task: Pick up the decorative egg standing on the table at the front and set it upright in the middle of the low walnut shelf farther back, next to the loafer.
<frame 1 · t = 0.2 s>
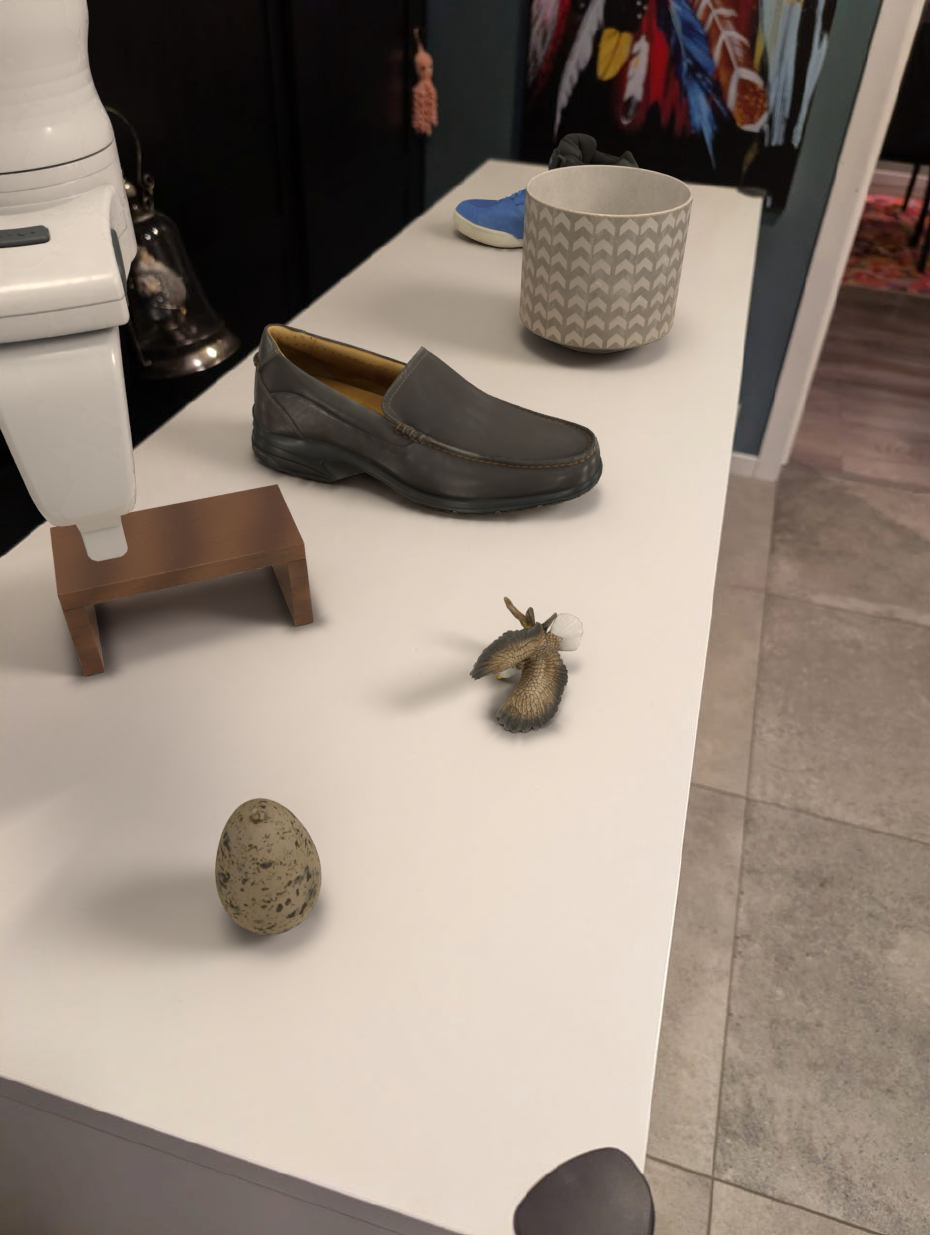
hand: (98, 499, 49), 24 cm above the table, tool pointing down, fingers open, 8 cm apart
shelf: (193, 614, 79), on the table
sneaker: (543, 245, 147), on the table
eagle figurine: (523, 688, 73), on the table
planter: (593, 341, 121), on the table
decorative egg: (277, 914, 58), on the table
loafer: (420, 473, 97), on the table
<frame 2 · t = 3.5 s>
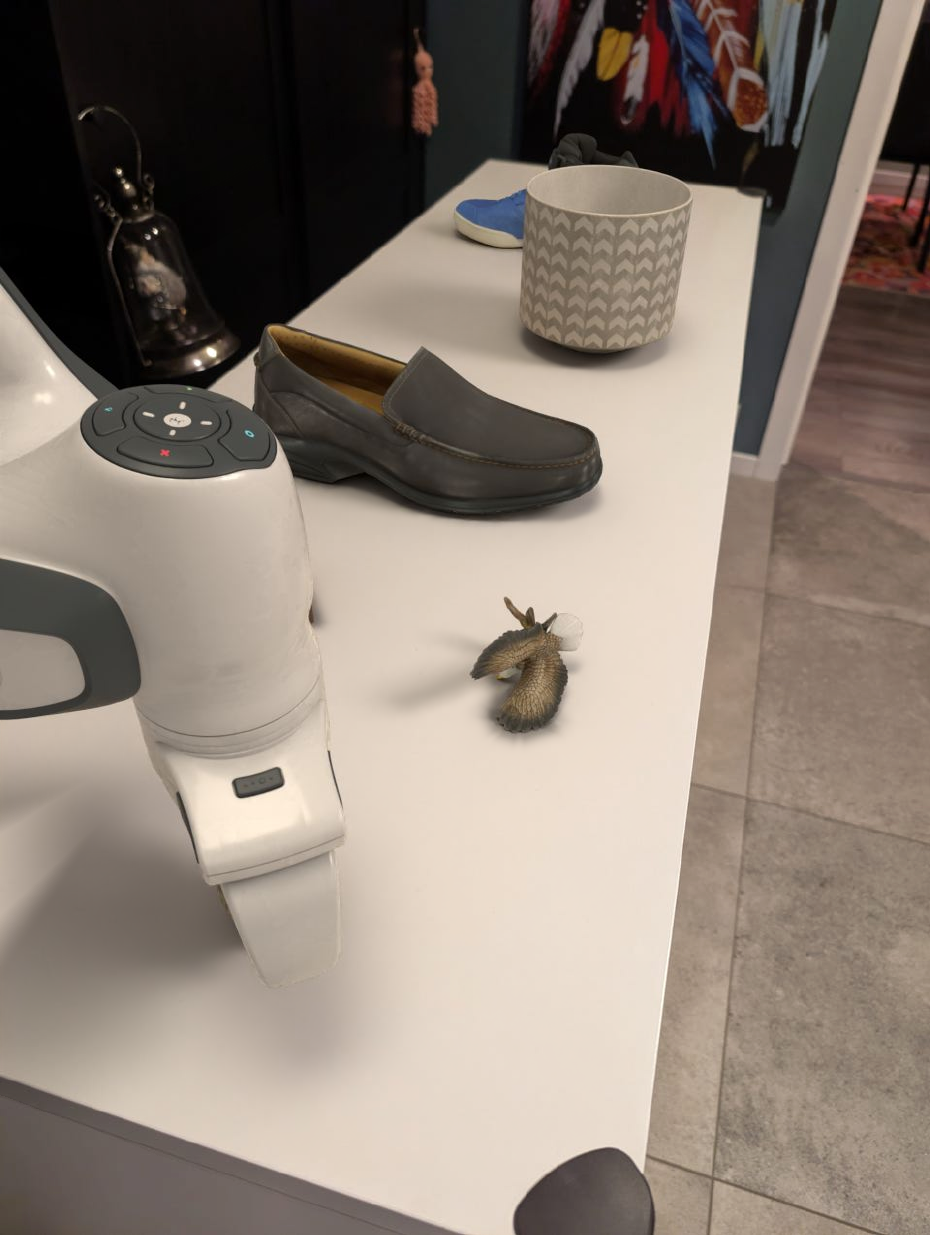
hand: (269, 878, 56), 4 cm above the table, tool pointing down, fingers closed on decorative egg, 6 cm apart
decorative egg: (277, 914, 58), on the table, touching gripper
everything else where it was.
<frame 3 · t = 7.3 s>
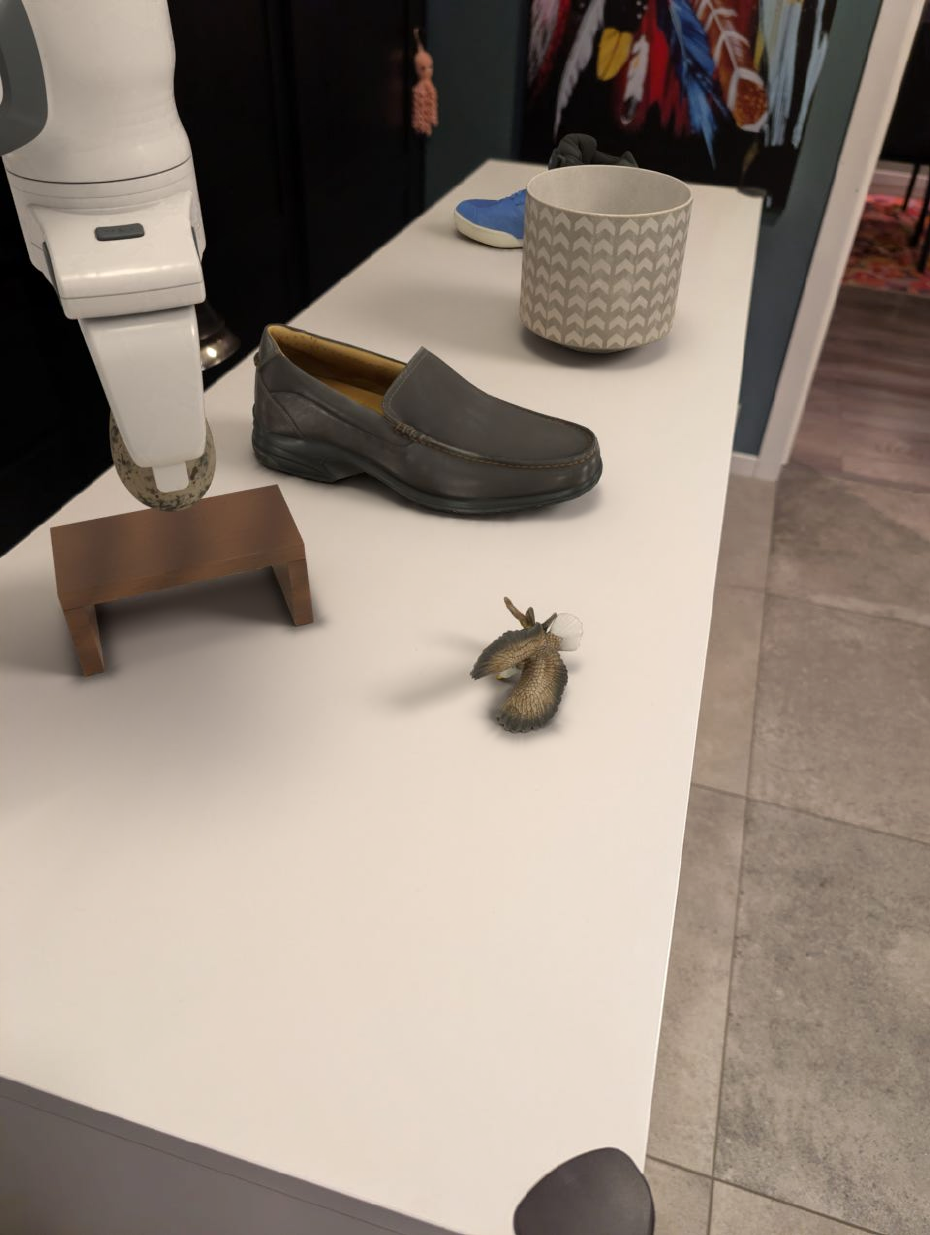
hand: (164, 454, 58), 21 cm above the table, tool pointing down, fingers closed on decorative egg, 6 cm apart
decorative egg: (176, 507, 60), point 17 cm above the table, touching gripper
everything else where it was.
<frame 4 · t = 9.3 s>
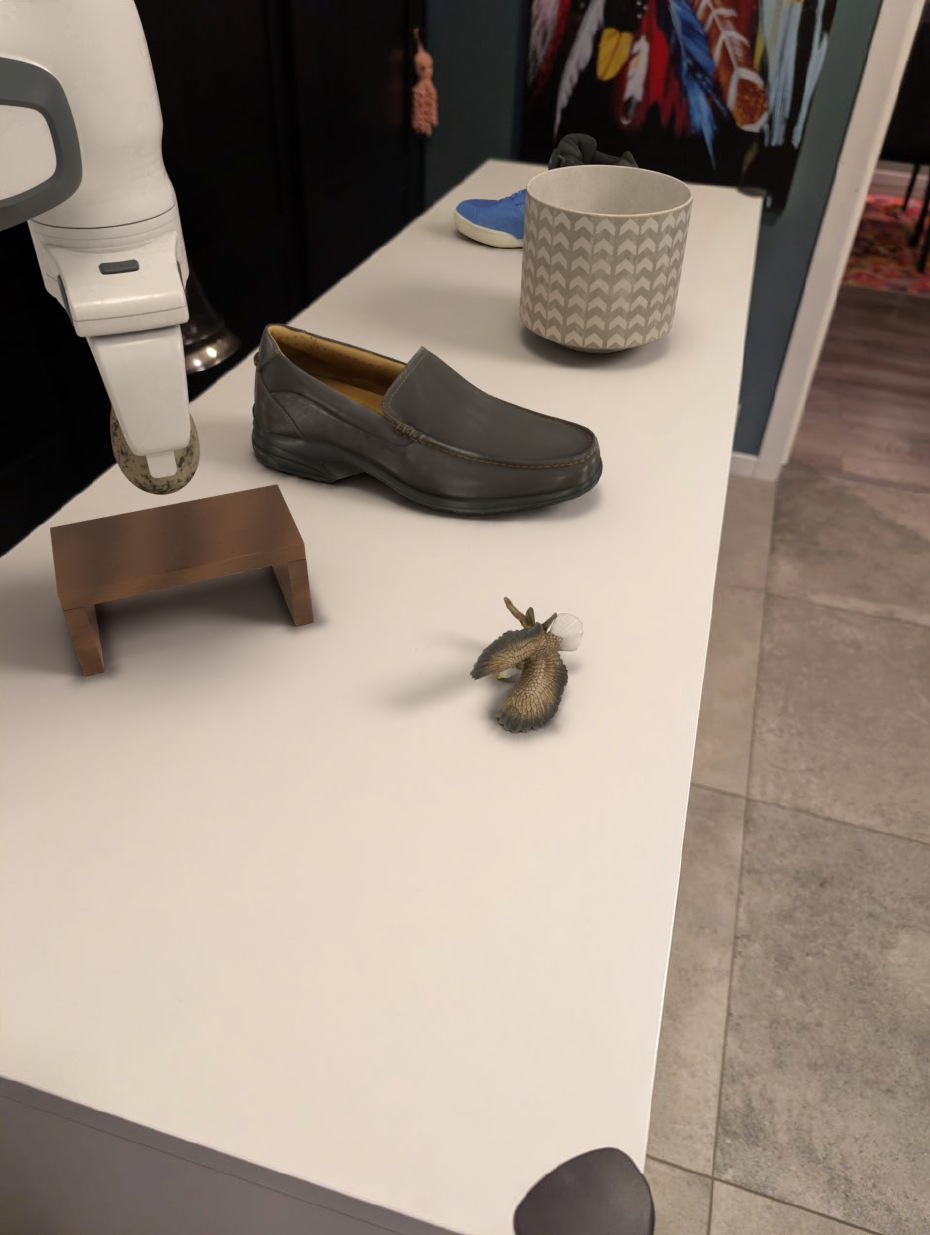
hand: (156, 447, 69), 16 cm above the table, tool pointing down, fingers closed on decorative egg, 6 cm apart
decorative egg: (166, 491, 72), point 12 cm above the table, touching gripper
everything else where it was.
when the fingers open (12 cm above the table, at t = 10.9 s): decorative egg stays where it is, resting on shelf.
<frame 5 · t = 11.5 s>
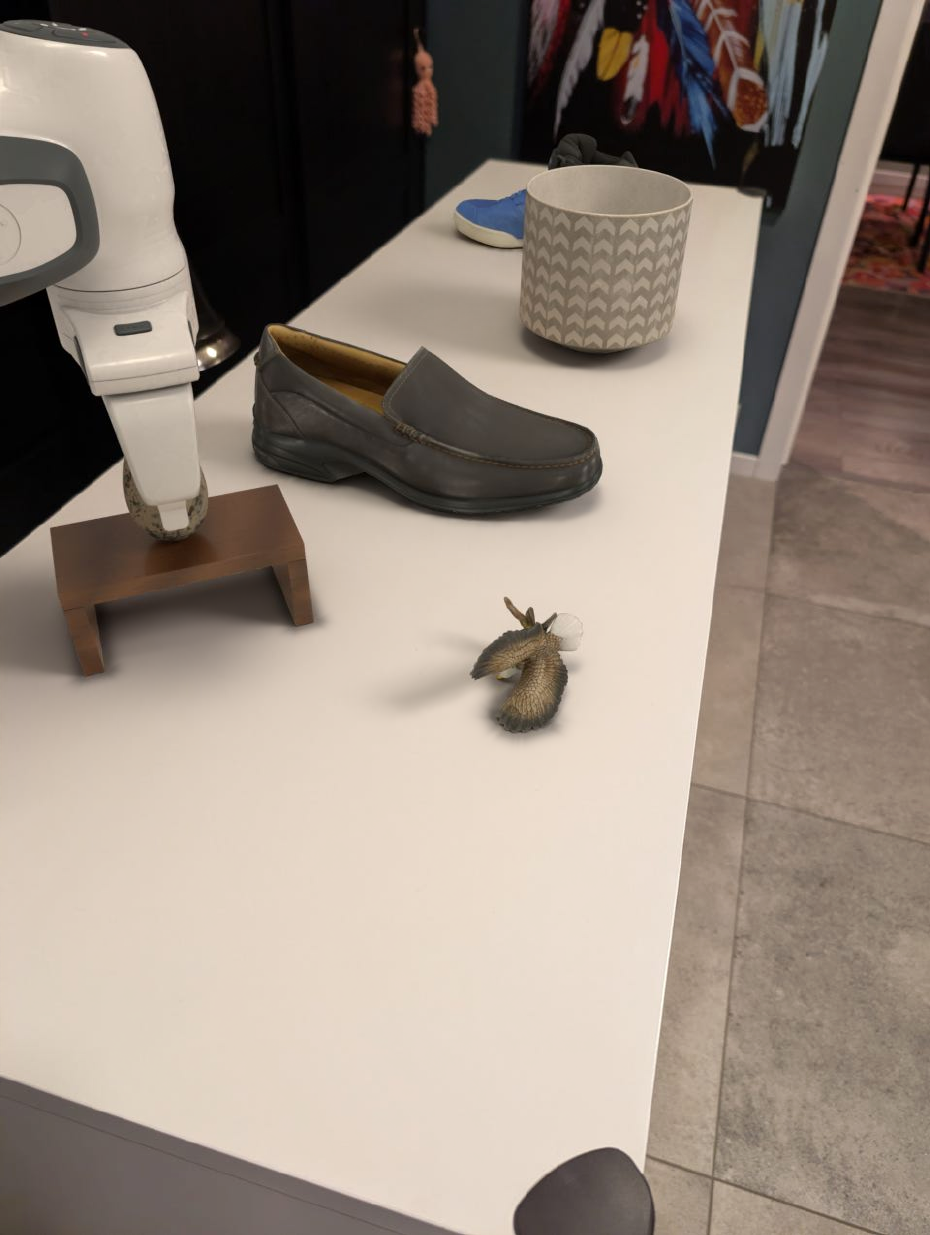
hand: (165, 490, 71), 12 cm above the table, tool pointing down, fingers open, 8 cm apart
decorative egg: (176, 537, 74), point 8 cm above the table, touching shelf
everything else where it was.
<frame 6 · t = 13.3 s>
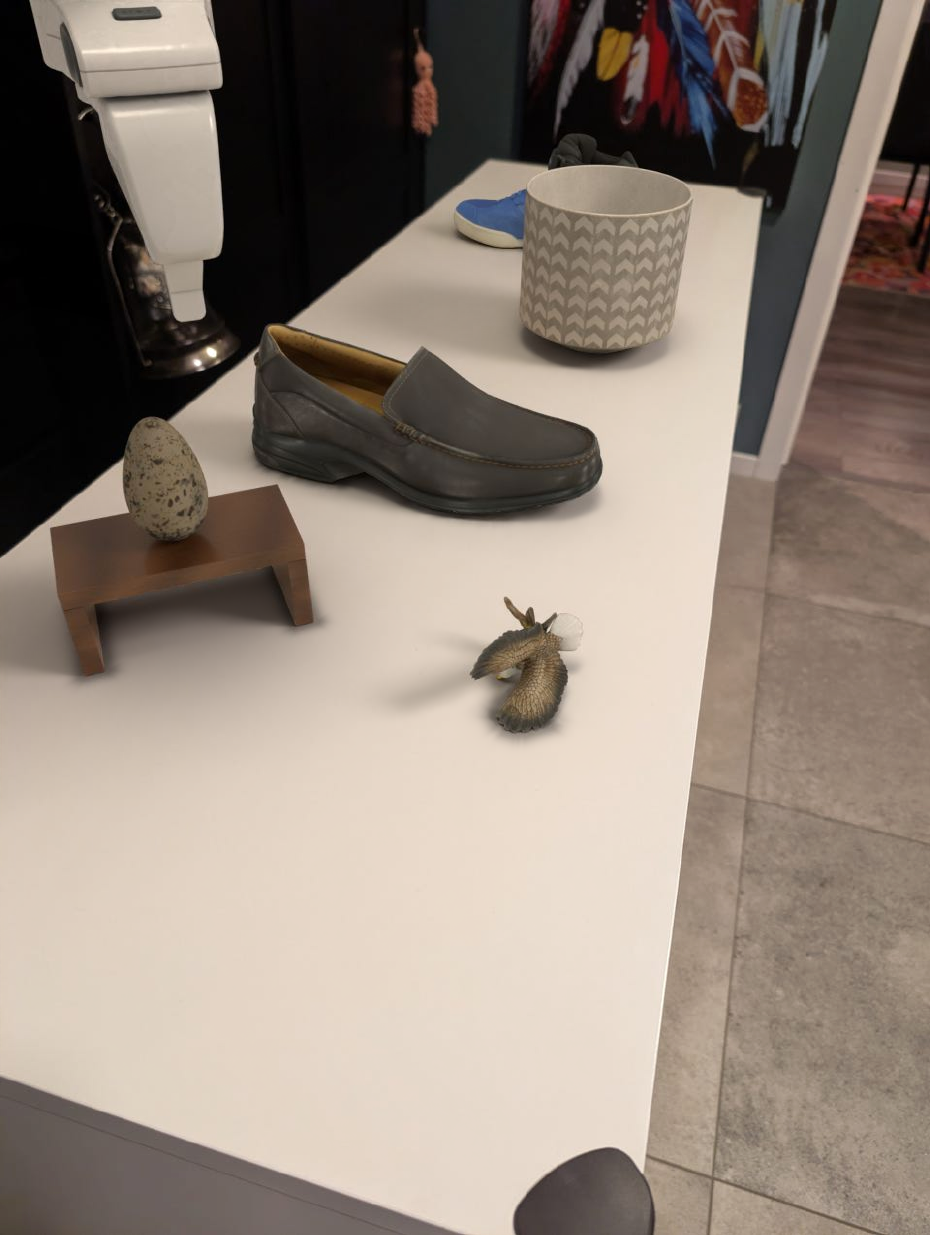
hand: (175, 286, 58), 29 cm above the table, tool pointing down, fingers open, 8 cm apart
nothing on the table moved.
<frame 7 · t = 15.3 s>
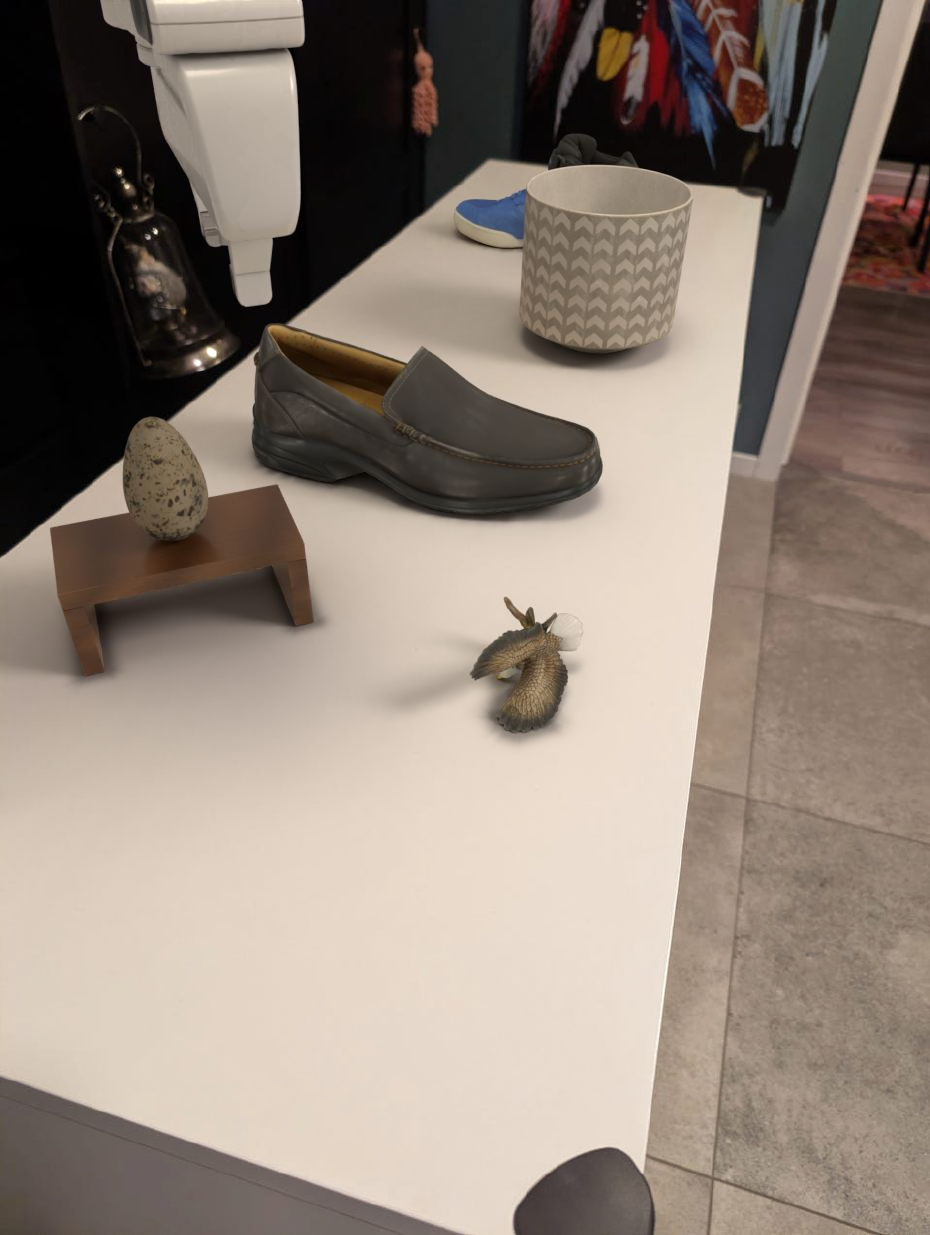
hand: (235, 269, 54), 31 cm above the table, tool pointing down, fingers open, 8 cm apart
nothing on the table moved.
at the end: decorative egg inside the target area on the shelf (0.0 cm from its centre), point 7.8 cm above the shelf's base; decorative egg tilted 0° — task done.
